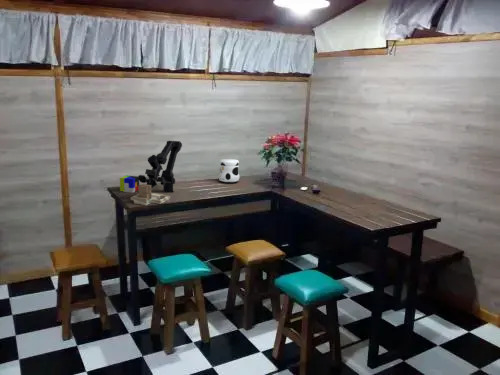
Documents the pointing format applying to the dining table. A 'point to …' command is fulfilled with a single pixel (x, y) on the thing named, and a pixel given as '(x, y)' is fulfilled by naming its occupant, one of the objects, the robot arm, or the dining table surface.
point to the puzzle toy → (129, 183)
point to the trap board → (154, 199)
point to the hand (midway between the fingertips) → (147, 190)
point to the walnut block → (145, 191)
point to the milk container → (229, 170)
